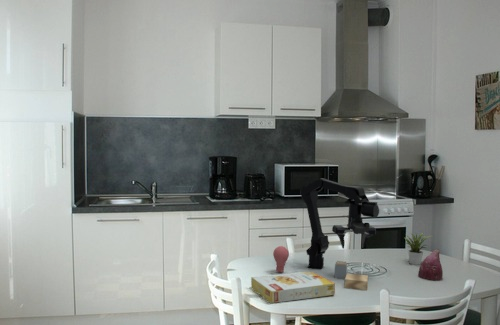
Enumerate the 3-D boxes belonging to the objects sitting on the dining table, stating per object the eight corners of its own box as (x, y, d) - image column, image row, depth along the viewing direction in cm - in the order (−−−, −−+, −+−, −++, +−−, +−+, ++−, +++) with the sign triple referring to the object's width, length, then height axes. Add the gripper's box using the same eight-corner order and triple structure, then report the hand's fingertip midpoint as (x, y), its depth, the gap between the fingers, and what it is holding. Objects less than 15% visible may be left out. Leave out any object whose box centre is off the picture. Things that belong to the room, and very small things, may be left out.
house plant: (429, 260, 250) (431, 229, 249) (435, 268, 236) (436, 235, 235) (401, 258, 253) (402, 227, 252) (404, 265, 239) (406, 233, 238)
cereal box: (336, 282, 191) (272, 289, 180) (335, 296, 191) (271, 304, 180) (309, 269, 209) (250, 275, 198) (309, 282, 210) (249, 289, 198)
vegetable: (439, 282, 223) (450, 251, 223) (441, 286, 214) (451, 254, 213) (416, 274, 227) (426, 244, 227) (417, 277, 217) (427, 245, 217)
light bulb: (290, 271, 223) (291, 245, 223) (284, 275, 217) (285, 249, 216) (276, 269, 226) (276, 243, 226) (270, 273, 220) (271, 247, 219)
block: (344, 288, 202) (345, 279, 201) (346, 282, 210) (346, 273, 210) (366, 291, 199) (367, 281, 199) (367, 284, 208) (368, 275, 207)
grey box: (334, 277, 215) (335, 263, 215) (335, 274, 220) (336, 260, 220) (345, 279, 214) (346, 264, 214) (346, 276, 219) (347, 261, 219)
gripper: (340, 217, 209) (338, 253, 210) (381, 218, 211) (379, 253, 212) (332, 212, 220) (330, 246, 221) (372, 213, 222) (370, 247, 223)
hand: (352, 248), depth 219 cm, fingers open, 9 cm apart
